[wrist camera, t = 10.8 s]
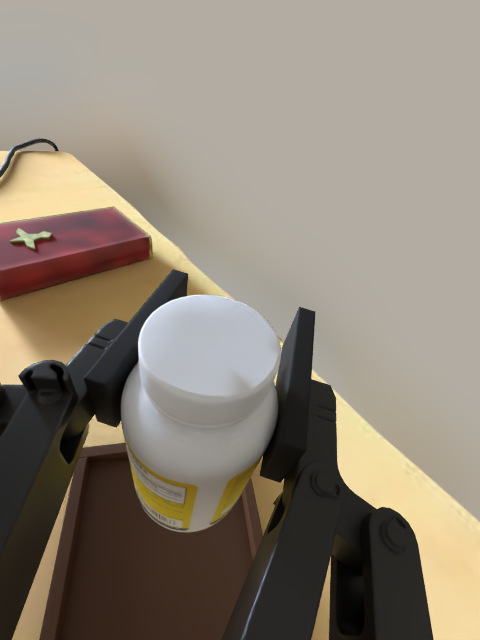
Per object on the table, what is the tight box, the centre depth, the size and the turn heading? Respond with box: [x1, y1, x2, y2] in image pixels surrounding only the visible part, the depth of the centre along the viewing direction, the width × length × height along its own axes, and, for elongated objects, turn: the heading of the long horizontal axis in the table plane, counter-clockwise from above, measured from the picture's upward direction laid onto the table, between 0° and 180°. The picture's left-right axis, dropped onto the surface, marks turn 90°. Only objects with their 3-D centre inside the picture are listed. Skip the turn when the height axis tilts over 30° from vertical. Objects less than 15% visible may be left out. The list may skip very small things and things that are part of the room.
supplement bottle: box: [121, 295, 281, 532], centre depth 11 cm, size 5×5×10 cm
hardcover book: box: [0, 207, 152, 300], centre depth 42 cm, size 12×21×4 cm, turn 135°
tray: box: [39, 443, 263, 640], centre depth 19 cm, size 17×14×2 cm
